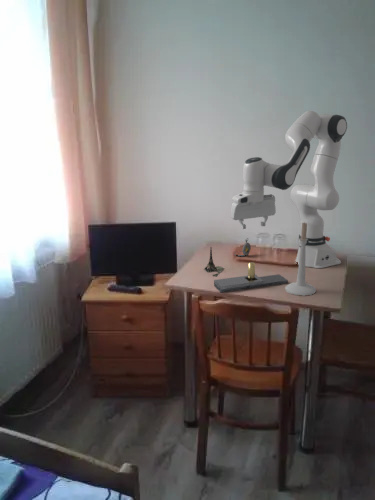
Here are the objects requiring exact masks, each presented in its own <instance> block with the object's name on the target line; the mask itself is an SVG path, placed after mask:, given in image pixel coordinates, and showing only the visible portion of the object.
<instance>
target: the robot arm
mask: <svg viewBox="0 0 375 500" xmlns="http://www.w3.org/2000/svg"><path fill="white" fill-rule="evenodd" d="M347 129H348V122H347V120H346V117H345V116H343V115H341V114H340V115H339V114H329V113H327V114H326V113H325V114H318V113H317V112H315V111H314V110H307V111H305V112H303V113H302V114H300V116H299V117H297V119H295V120H294V121H293V123H292V124H291V125H290V126H289V128H288V129H287V131H286V132H285V135H284V136H285V137H284V139H285V143H286V146H287V147H288V148H289V149H290V150H291V151H292V153H291V155H290V158H289V159H288V160H287V162H286V163H284V164H276V163H275V164H274V163H269V162H267V161H265V160H264V159H263V158H262V157H258V156H255V157H250V158H248V159H246V160H245V161H244V164H243V168H242V169H243V170H242V181H243V187H242V192H240V193H238V194H235V195H233V196H232V198H231V199H232V201H233V202H232V204H231V207H230V218H231V219H232V220H234V221H238V222H239V224H240V227H241V229H242V230H244V229H246V228H247V224H245V223H244V220H248V219H256V218H262V221H260V226H261V227H265V226H266V223H267V221H268V219H269V217H271V216H275V214H276V210H277V209H276V197H275V195H274V194H265V188H264V186H266V187H271V188H275V189H279V190H282V191H285V190H288V189H289V188H291V187H292V186H293V185H294V182H295V180H296V177H297V175H298V172H299V170H300V169H301V167H302V165H303V163H304V162H305V160H306V158H307V156H308V154H309V153H310V150H311V143H310V142H312V140H313V139H317V140H318V144H317V147H316V150H315V152H314V156H313V158H312V162H311V166H310V170H309V171H310V172H309V173H310V174H311V175H312V176H313V177H314V184H307V183H302V184H301V183H300V184H296V185H294V186H293V187H292V189H291V190H290V194H289V196H290V200H291V202H293V203H292V204H294V206H295V207H296V209H297V211H298V215H299V222H300V224H299V227H300V230H299V235H298V250H297V254H296V258H295V259H294V262H295V261H296V262H298V264H297V265H299V258H300V249H301V248H300V247H301V243H300V239H299V238H301V233H302V223H304V222H305V223H307V232H306V238H307V239H308V240H307V243H306V245H305V247H306V248H305V268H306V267H307V268H313V269H314V268H315V269H324V268H327V267H331V266H336V265H341V264H342V262H341V260H340V259H339V258H338V257H337V252H336V250H335V249H334V248H333V247H331V246H330V245H329V244H328V243H327V242H330V241H331V238H330V237H329V236H325V235H324V226H325V220H324V219H323V216H321V215H320V214H319V212H318V211H332V210H334V209H335V208H337V206H338V205H339V202H340V195H339V192H338V191H337V190H336V187H335V184H334V175H335V171H336V166H337V163H338V160H339V157H340V153H341V146H342V141H341V140H342V139H343V137H344V136H345V134H346V132H347ZM326 241H327V242H326ZM296 262H295V263H296Z"/></svg>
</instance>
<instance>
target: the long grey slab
mask: <svg viewBox="0 0 375 500" xmlns="http://www.w3.org/2000/svg"><path fill="white" fill-rule="evenodd" d="M213 282H214V283H213V285H214V287H215V288H216V290H218V291H219V293H227V292H233V291H240V290H241V291H242V290H249V289H255V288H263V287H264V288H265V287H270V286H278V285H284V284H288V279H287V278H285V277H284V276H282V275H281V274H272V275H271V274H270V275H263V276H258V275H257V274H255V280H253V281H248V275H243V276H235V277H227V278H226V277H225V278H218V279H214V280H213Z"/></svg>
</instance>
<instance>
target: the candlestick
mask: <svg viewBox="0 0 375 500" xmlns="http://www.w3.org/2000/svg"><path fill="white" fill-rule="evenodd" d="M306 232H307V223H305V222H304V223H302V233H301V238H299V237H298V240H299V239H300V243H301V247H300V248H301V249H300V258H299V264H298V268H297V277H296V281H295V282H291V283H289V284H288V283H287V285H286V286H285V287H284V288H285V289H284V291H286V293H288V294H291V295H292V294H294V295H293V296H297V295H302V296H301V297H306V296H305V295H310V296H313V295H315V294H316V293H317V288H316V287H315V286H314V285H312V284H310V283H307V282H306V266H305V248H306V247H305V245H306V243H307V240H308V239H307V238H306ZM315 292H316V293H315ZM314 293H315V294H314ZM312 294H313V295H312Z"/></svg>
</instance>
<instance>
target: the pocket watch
mask: <svg viewBox="0 0 375 500" xmlns="http://www.w3.org/2000/svg"><path fill="white" fill-rule="evenodd" d="M244 241H245V243H244V244H243V246H242V250H241V252H243V254H244V255H238V256H237V257H240V256H241V257H246V256H247V255H249V254H250V252H251V244H250V243H249V242H248V241H249V238H246V239H245V240H244ZM236 252H237V251H236ZM236 252H234V256H236V254H235V253H236ZM245 255H246V256H245Z"/></svg>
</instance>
